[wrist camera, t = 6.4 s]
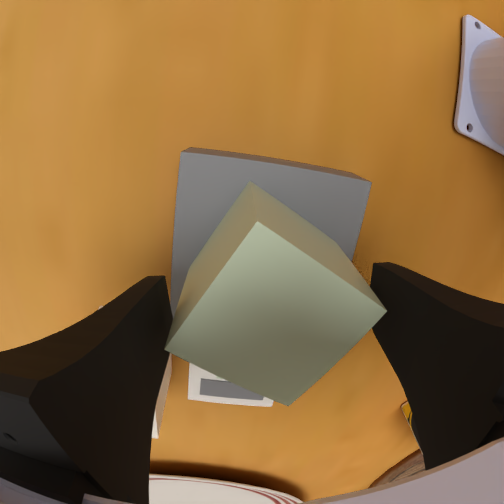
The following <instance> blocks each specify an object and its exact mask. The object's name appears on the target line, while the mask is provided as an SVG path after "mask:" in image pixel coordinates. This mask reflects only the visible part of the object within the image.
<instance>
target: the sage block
mask: <svg viewBox="0 0 504 504" xmlns="http://www.w3.org/2000/svg"><path fill="white" fill-rule="evenodd" d="M386 312H387V310H386V309H385V307H384V306H383V304H382V303H381V302H380V300H379V299H378V297H377V296H376V295H375V293H374V292H373V290H372V289H371V288H370V286H369V285H368V284H367V282H366V281H365V280H364V278H363V277H362V276H361V274H360V273H359V272H358V270H357V269H356V268H355V266H354V265H353V264H352V262H351V261H350V260H349V258H348V257H347V256H346V254H345V253H344V252H343V251H342V249H341V248H340V247H339V245H338V244H337V243H336V242H335V241H334V240H333V239H331V238H330V237H328V236H327V235H326V234H324V233H323V232H322V231H320V230H319V229H318V228H316V227H315V226H314V225H312V224H311V223H309V222H308V221H307V220H305V219H304V218H303V217H301V216H300V215H298V214H297V213H296V212H294V211H293V210H291V209H290V208H289V207H287V206H286V205H284V204H283V203H281V202H280V201H279V200H277V199H276V198H274V197H273V196H271V195H270V194H269V193H267V192H266V191H264V190H263V189H261V188H260V187H258V186H257V185H255V184H254V183H253V182H251V181H249V182H248V184H247V185H246V187H245V188H244V189H243V191H242V192H241V194H240V195H239V196H238V198H237V199H236V201H235V202H234V203H233V205H232V206H231V208H230V209H229V211H228V212H227V213H226V215H225V216H224V218H223V219H222V221H221V222H220V223H219V225H218V226H217V228H216V229H215V231H214V232H213V234H212V235H211V236H210V238H209V239H208V241H207V242H206V244H205V245H204V247H203V248H202V250H201V251H200V253H199V254H198V256H197V257H196V259H195V260H194V261H193V263H192V264H191V266H190V268H189V271H188V274H187V277H186V280H185V283H184V286H183V289H182V292H181V296H180V299H179V302H178V305H177V308H176V312H175V315H174V318H173V322H172V325H171V328H170V332H169V335H168V338H167V342H166V345H165V349H164V350H166V351H168V352H170V353H172V354H174V355H176V356H178V357H179V358H181V359H183V360H185V361H187V362H189V363H191V364H193V365H195V366H197V367H199V368H201V369H204V370H206V371H208V372H210V373H212V374H214V375H216V376H218V377H220V378H223V379H225V380H227V381H229V382H231V383H234V384H236V385H238V386H240V387H243V388H245V389H247V390H250V391H252V392H254V393H257V394H259V395H261V396H264V397H266V398H269V399H271V400H274V401H276V402H279V403H281V404H284V405H287V406H289V405H290V404H292V403H293V402H294V401H295V400H296V399H297V398H299V397H300V396H301V395H302V394H303V393H304V392H306V391H307V390H308V389H309V388H310V387H311V386H312V385H313V384H315V383H316V382H317V381H318V380H319V379H320V378H321V377H322V376H323V375H324V374H326V373H327V372H328V371H329V370H330V369H331V368H332V367H333V366H334V365H335V364H336V363H337V362H338V361H339V360H340V359H341V358H342V357H343V356H344V355H345V354H346V353H348V352H349V351H350V350H351V349H352V348H353V347H354V346H355V345H356V344H357V343H358V342H359V340H360V339H361V338H362V337H363V336H364V335H365V334H366V333H367V332H368V331H369V330H370V329H371V328H372V327H373V326H374V325H375V324H376V323H377V322H378V321H379V320H380V318H381V317H382V316H383V315H384V314H385V313H386Z"/></svg>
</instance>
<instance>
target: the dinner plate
mask: <svg viewBox="0 0 504 504" xmlns="http://www.w3.org/2000/svg"><path fill="white" fill-rule="evenodd" d="M302 502H303V501H301V500H300V499H298V498H296V497H294V496H291V495H289V494H286V493H282V492H279V491H275V490H271V489H267V488H262V487H256V486H252V485H247V484H241V483H235V482H229V481H222V480H215V479H208V478H198V477H188V476H176V475H160V474H149V504H297V503H302Z"/></svg>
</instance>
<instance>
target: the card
mask: <svg viewBox="0 0 504 504" xmlns="http://www.w3.org/2000/svg"><path fill="white" fill-rule="evenodd" d="M188 399H190V400H198V401H206V402H215V403H225V404H236V405H250V406H267V407H272V404H273V401H274V400H271V399H269V398H266V397H264V396H261V395H259V394H257V393H254V392H252V391H250V390H247V389H245V388H243V387H240V386H238V385H236V384H234V383H231V382H229V381H227V380H225V379H223V378H220V377H218V376H216V375H214V374H212V373H210V372H208V371H206V370H204V369H201V368H199V367H197V366H195V365H193V364H191V363H190V365H189V384H188Z"/></svg>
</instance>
